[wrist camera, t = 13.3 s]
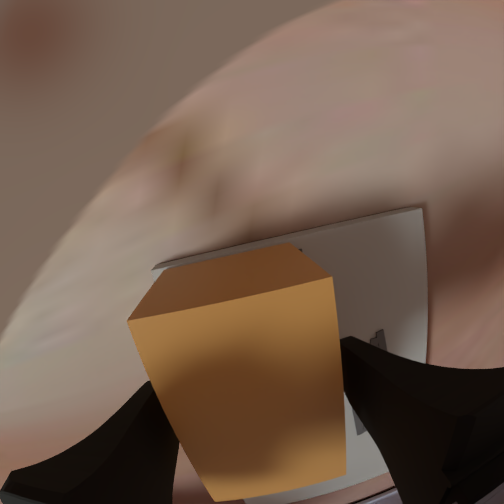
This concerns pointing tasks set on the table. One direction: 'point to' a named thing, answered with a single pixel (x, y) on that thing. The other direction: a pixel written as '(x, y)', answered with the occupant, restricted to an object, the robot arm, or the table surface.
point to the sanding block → (248, 369)
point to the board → (360, 310)
